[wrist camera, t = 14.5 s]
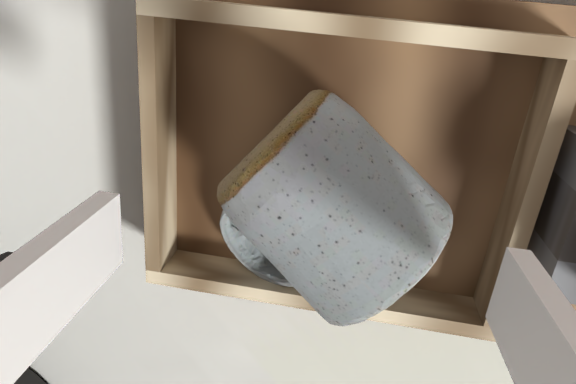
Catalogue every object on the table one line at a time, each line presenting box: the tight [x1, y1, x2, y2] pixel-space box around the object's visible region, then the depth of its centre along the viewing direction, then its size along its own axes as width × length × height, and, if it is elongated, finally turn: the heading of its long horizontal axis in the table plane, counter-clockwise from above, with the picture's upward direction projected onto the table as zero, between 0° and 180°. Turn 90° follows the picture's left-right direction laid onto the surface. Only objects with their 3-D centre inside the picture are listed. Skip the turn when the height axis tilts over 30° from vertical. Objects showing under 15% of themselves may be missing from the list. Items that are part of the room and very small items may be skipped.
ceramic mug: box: [217, 89, 453, 326], centre depth 21 cm, size 11×8×8 cm
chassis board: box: [136, 0, 576, 342], centre depth 22 cm, size 29×17×5 cm, turn 85°
